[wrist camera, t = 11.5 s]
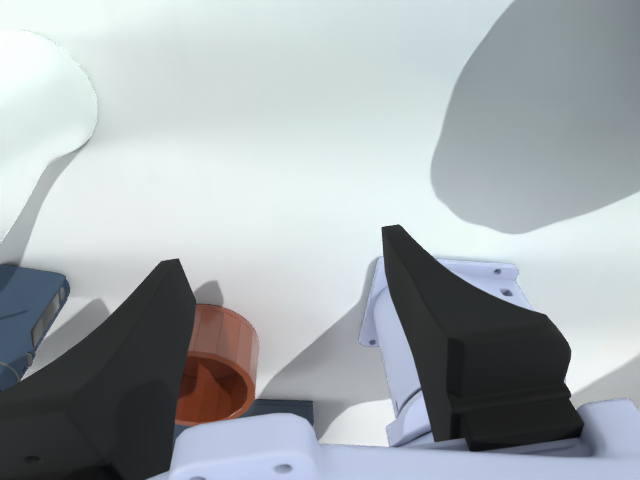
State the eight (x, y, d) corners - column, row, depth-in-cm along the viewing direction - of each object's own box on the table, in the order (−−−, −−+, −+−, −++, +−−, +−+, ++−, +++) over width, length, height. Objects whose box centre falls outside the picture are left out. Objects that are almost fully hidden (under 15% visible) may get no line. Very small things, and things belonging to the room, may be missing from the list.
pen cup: (261, 306, 31) (257, 353, 27) (256, 379, 35) (252, 428, 31) (146, 300, 30) (127, 348, 26) (156, 376, 34) (140, 426, 30)
